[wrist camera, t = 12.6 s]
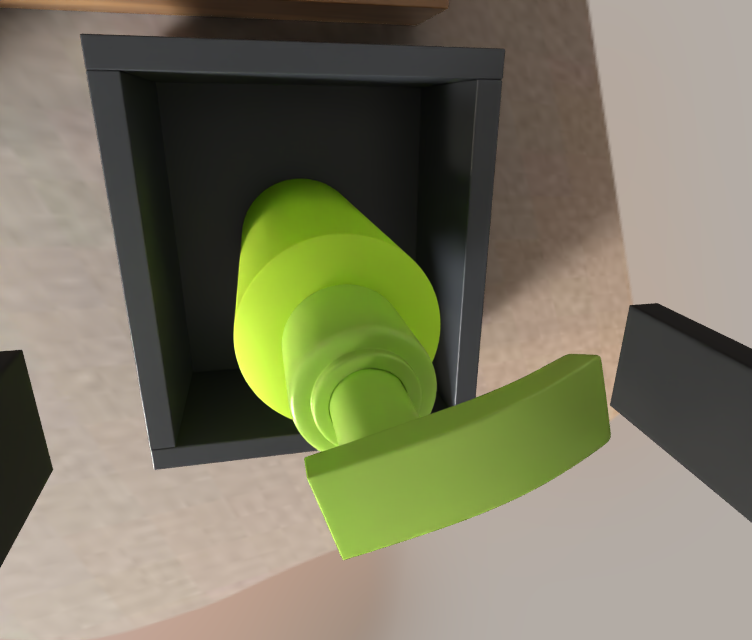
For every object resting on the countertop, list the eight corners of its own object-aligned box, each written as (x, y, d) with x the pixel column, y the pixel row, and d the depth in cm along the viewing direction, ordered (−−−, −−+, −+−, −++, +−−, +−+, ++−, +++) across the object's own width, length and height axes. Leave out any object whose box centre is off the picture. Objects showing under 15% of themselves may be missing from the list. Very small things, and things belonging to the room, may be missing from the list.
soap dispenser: (391, 265, 28) (638, 535, 10) (267, 309, 28) (296, 678, 10) (359, 155, 26) (606, 252, 8) (222, 200, 26) (151, 418, 7)
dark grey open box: (132, 58, 24) (79, 33, 16) (435, 66, 26) (505, 48, 19) (177, 382, 29) (153, 470, 22) (422, 360, 32) (473, 432, 25)
